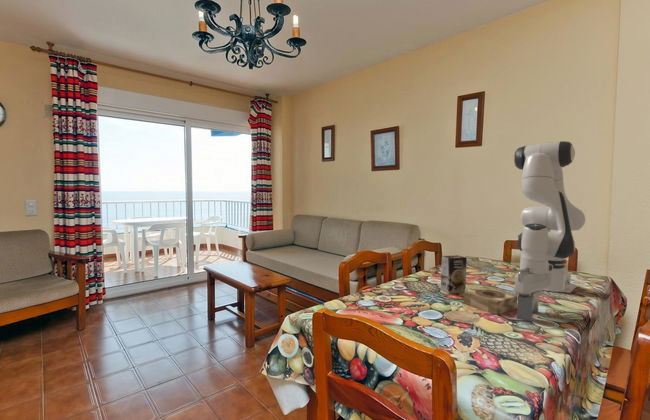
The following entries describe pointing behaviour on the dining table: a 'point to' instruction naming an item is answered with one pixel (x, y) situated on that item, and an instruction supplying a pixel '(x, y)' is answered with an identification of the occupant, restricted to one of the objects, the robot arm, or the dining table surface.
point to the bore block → (490, 300)
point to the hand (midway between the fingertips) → (532, 302)
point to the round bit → (535, 302)
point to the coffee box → (453, 274)
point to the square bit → (525, 307)
